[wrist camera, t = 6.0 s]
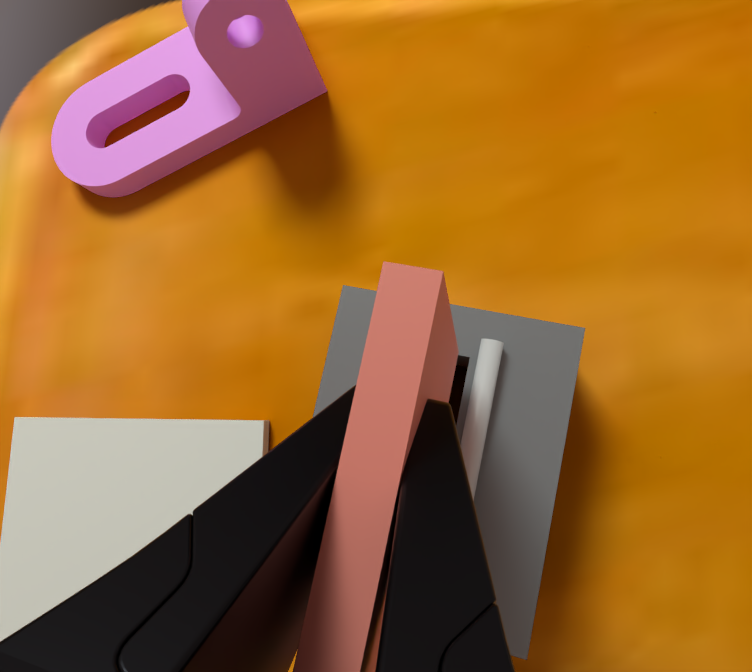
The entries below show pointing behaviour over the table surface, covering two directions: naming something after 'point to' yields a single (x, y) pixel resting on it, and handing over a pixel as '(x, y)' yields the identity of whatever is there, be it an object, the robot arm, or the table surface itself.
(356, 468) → the pink rectangular prism
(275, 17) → the bracket
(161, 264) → the table surface
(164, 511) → the mat
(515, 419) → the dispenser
